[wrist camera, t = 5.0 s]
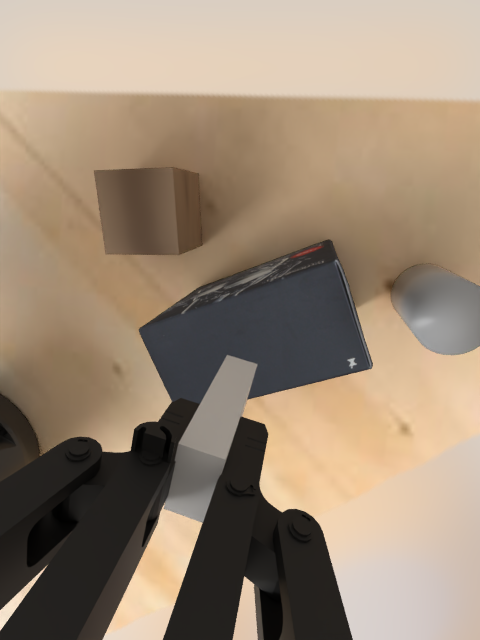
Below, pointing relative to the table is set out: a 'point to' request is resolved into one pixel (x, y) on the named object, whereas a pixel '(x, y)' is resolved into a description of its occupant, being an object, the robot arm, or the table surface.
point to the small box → (262, 327)
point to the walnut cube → (149, 210)
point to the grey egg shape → (439, 308)
